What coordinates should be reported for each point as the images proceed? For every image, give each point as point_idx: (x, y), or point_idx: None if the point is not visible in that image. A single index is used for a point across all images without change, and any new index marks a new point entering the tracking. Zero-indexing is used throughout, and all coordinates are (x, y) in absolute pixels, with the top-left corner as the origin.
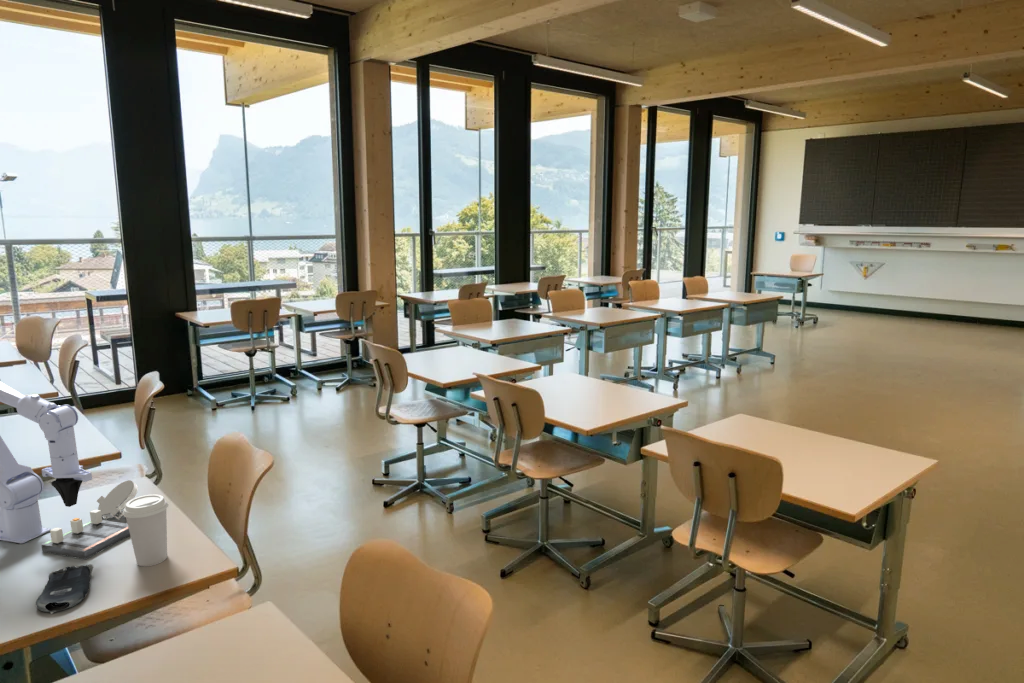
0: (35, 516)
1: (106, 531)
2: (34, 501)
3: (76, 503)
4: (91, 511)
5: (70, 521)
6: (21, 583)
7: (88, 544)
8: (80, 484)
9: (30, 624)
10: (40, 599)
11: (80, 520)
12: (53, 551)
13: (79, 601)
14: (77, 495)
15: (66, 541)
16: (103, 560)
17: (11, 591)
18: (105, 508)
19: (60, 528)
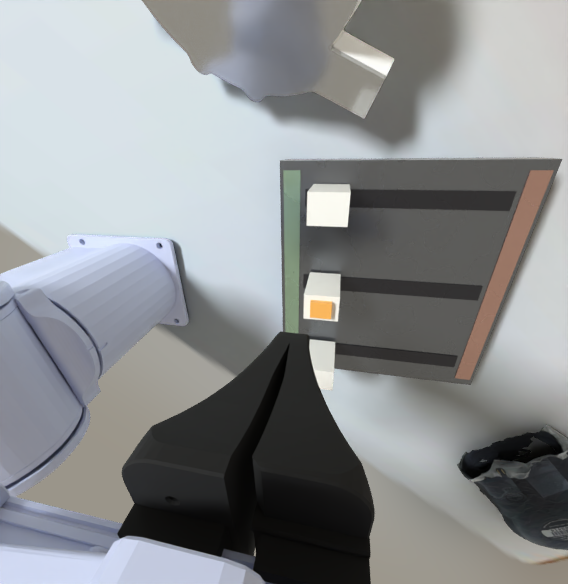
0: (133, 309)
1: (440, 252)
2: (81, 340)
3: (308, 335)
4: (310, 218)
5: (304, 316)
6: (381, 452)
7: (446, 346)
8: (336, 430)
9: None
10: (530, 540)
11: (339, 302)
12: None
13: None
14: (311, 364)
15: (345, 339)
16: (532, 363)
17: (389, 472)
18: (237, 49)
19: (328, 372)
